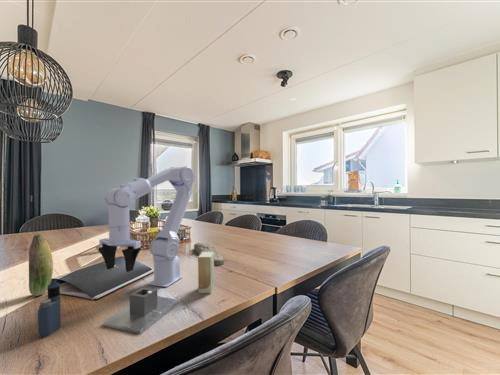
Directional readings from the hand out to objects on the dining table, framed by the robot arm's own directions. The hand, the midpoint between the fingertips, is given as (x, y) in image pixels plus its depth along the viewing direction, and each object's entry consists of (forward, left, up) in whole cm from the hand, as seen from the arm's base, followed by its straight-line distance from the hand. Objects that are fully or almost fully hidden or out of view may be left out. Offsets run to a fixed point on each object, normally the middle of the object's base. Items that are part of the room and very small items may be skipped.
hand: (120, 269), depth 76 cm
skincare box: (-14, +22, -10) cm, 28 cm away
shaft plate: (+5, +13, -9) cm, 17 cm away
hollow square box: (+5, +13, -8) cm, 16 cm away
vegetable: (+6, -28, -10) cm, 30 cm away
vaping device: (+19, -3, -10) cm, 21 cm away
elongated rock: (-51, +3, -10) cm, 52 cm away
